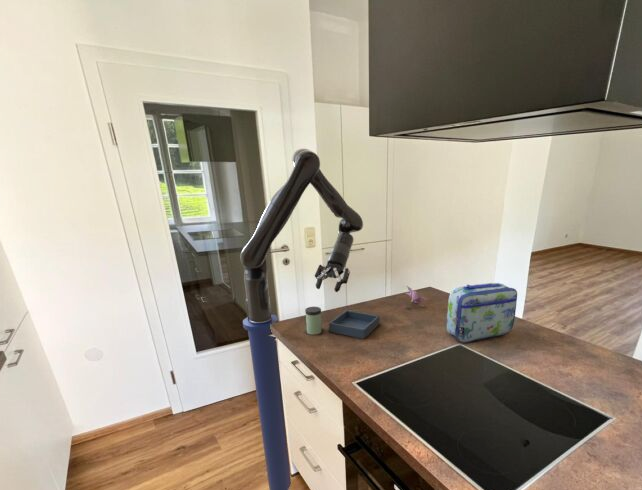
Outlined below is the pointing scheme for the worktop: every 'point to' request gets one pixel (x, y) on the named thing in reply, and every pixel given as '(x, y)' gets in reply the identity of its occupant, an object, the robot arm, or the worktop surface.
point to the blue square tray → (354, 324)
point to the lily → (415, 296)
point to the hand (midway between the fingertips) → (326, 289)
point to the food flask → (313, 320)
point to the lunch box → (481, 311)
